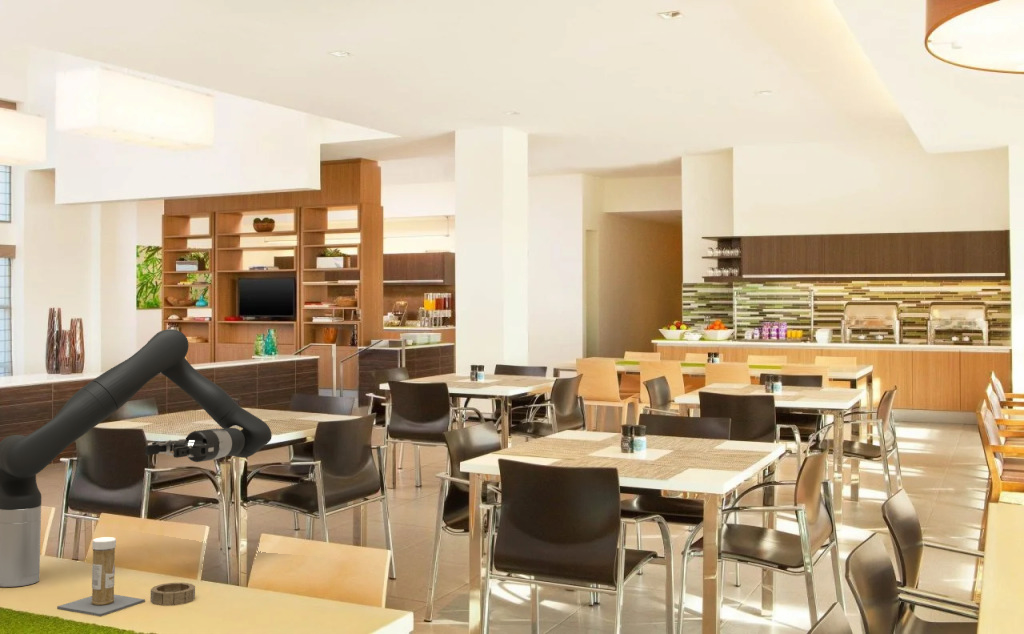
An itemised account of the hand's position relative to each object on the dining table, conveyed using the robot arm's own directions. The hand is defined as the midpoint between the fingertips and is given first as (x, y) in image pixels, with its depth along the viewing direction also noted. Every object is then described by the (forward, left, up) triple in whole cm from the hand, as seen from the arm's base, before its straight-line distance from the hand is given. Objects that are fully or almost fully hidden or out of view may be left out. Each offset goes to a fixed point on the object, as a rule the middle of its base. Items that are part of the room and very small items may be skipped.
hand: (160, 451), depth 223 cm
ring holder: (+13, -9, -30) cm, 34 cm away
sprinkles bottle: (+3, -19, -30) cm, 35 cm away
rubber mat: (+3, -19, -30) cm, 36 cm away
